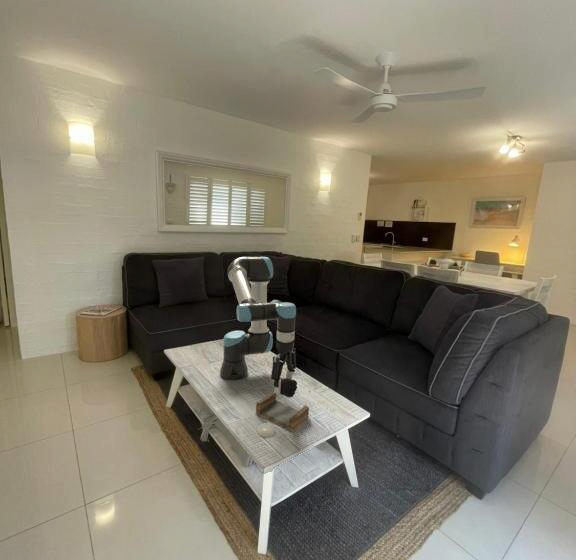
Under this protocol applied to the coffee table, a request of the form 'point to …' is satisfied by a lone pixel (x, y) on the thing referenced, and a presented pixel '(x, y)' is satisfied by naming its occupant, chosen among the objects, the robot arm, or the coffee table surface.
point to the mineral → (288, 387)
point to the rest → (281, 412)
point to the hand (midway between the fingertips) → (283, 389)
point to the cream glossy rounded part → (266, 430)
